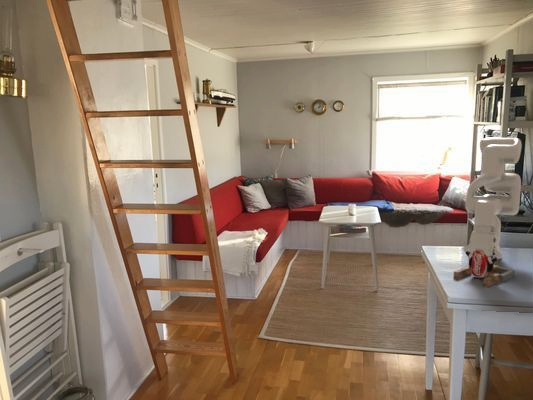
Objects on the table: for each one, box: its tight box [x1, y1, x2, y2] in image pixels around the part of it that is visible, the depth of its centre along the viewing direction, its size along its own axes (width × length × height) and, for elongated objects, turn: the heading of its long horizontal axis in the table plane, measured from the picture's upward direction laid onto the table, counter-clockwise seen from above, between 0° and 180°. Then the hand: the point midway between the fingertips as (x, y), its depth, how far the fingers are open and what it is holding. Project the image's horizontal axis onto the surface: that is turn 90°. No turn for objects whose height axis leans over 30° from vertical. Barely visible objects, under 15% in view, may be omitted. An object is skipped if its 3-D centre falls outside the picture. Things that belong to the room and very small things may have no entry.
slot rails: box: [453, 265, 501, 288], centre depth 189 cm, size 12×14×3 cm
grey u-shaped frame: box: [464, 264, 516, 282], centre depth 196 cm, size 12×17×2 cm
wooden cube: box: [493, 264, 500, 275], centre depth 196 cm, size 4×4×4 cm
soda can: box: [470, 249, 489, 279], centre depth 190 cm, size 7×7×12 cm
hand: (480, 269), depth 190 cm, fingers closed on soda can, 7 cm apart
